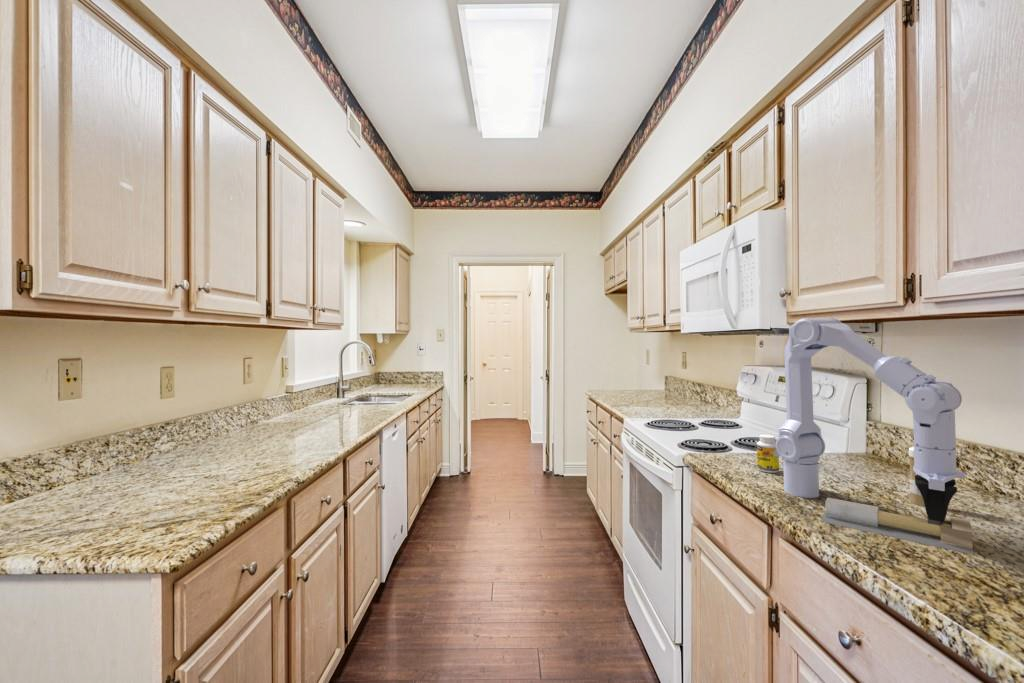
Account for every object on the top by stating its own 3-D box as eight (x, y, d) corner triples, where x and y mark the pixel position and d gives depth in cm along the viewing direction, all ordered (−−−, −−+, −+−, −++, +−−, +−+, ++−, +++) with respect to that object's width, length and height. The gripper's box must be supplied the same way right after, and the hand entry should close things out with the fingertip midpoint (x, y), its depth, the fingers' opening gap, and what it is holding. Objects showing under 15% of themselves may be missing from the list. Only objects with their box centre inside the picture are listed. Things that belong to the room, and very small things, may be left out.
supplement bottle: (753, 469, 129) (752, 435, 129) (765, 466, 131) (764, 433, 131) (771, 474, 124) (770, 438, 124) (783, 471, 126) (782, 436, 126)
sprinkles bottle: (909, 502, 101) (908, 445, 101) (937, 507, 98) (935, 448, 98) (909, 508, 98) (908, 449, 98) (937, 514, 95) (936, 452, 95)
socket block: (939, 533, 84) (939, 514, 84) (969, 539, 81) (969, 520, 81) (941, 542, 80) (940, 523, 80) (972, 549, 77) (972, 529, 77)
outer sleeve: (827, 512, 95) (827, 497, 95) (878, 522, 89) (878, 506, 89) (825, 516, 93) (825, 501, 93) (877, 527, 87) (877, 511, 87)
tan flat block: (869, 518, 90) (868, 485, 90) (955, 535, 81) (954, 499, 81) (868, 521, 88) (867, 487, 88) (956, 539, 80) (955, 502, 80)
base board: (827, 511, 98) (827, 506, 98) (968, 539, 83) (968, 534, 83) (820, 526, 90) (820, 521, 90) (974, 560, 76) (974, 554, 76)
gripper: (968, 458, 74) (970, 537, 74) (961, 441, 85) (962, 511, 85) (912, 451, 79) (914, 526, 79) (912, 437, 90) (913, 502, 90)
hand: (935, 518), depth 82 cm, fingers closed on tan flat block, 2 cm apart
